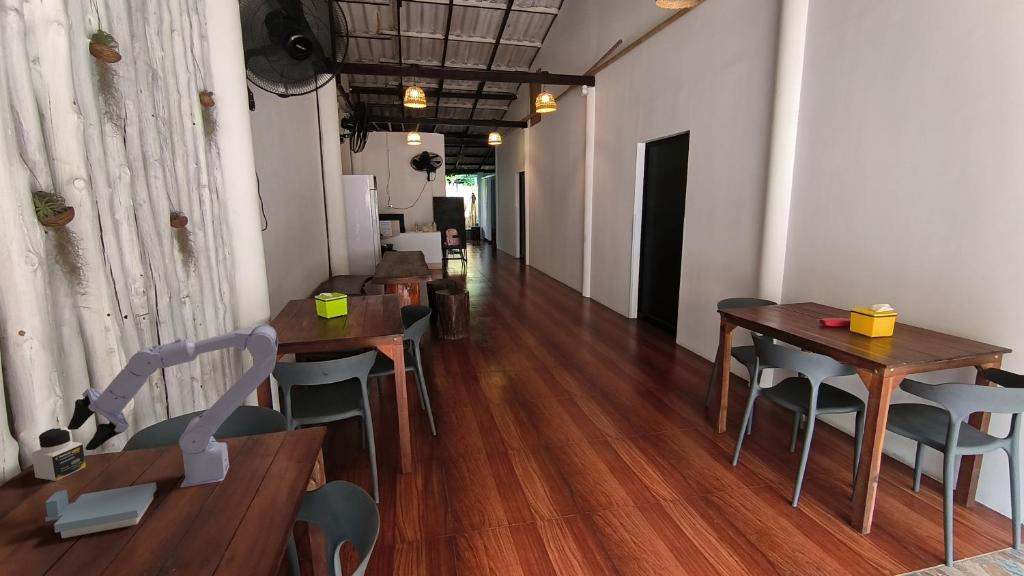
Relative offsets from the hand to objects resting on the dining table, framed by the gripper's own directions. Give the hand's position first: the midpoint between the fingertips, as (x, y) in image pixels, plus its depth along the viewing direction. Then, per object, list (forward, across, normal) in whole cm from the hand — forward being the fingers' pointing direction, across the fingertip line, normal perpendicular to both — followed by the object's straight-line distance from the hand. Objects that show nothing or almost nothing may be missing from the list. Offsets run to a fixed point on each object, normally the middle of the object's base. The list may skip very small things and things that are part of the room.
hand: (81, 438), depth 108 cm
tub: (+7, +19, +1) cm, 21 cm away
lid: (+6, +17, 0) cm, 18 cm away
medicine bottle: (+20, -11, +14) cm, 27 cm away
